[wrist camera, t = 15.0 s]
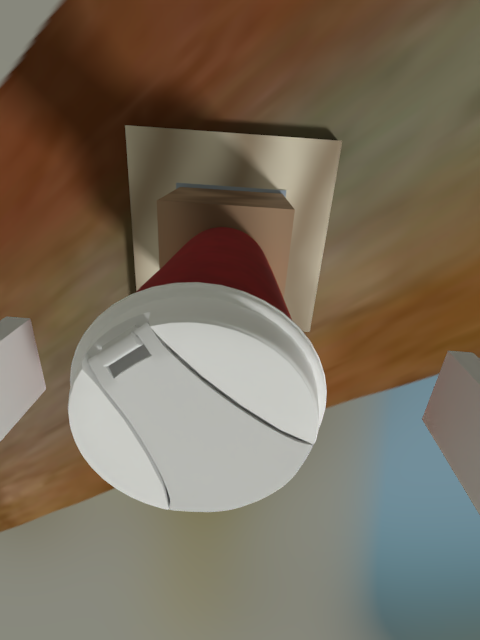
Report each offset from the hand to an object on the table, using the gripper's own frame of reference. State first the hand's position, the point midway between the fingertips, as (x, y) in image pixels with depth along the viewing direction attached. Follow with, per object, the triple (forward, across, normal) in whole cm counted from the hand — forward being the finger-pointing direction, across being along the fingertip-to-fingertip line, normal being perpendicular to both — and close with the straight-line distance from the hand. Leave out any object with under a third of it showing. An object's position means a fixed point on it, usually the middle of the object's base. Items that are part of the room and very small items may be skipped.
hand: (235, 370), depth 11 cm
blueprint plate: (+21, +2, +1) cm, 21 cm away
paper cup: (+12, +1, +1) cm, 12 cm away
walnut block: (+20, +2, +1) cm, 20 cm away
